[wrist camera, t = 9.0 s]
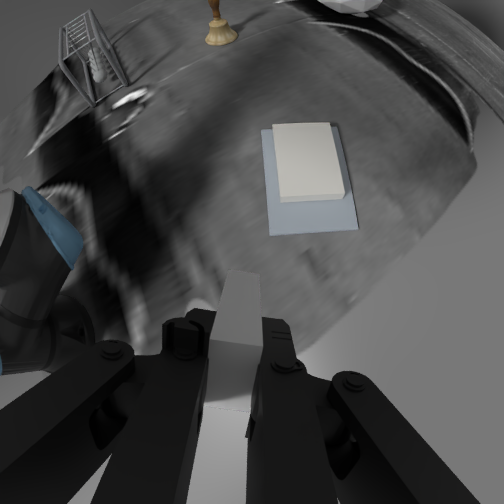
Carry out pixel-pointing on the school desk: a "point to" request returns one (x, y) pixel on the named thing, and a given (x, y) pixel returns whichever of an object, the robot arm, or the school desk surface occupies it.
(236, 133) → the school desk surface
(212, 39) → the hand bell
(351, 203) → the mat
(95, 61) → the newton's cradle
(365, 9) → the geometric polyhedron
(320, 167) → the tile
